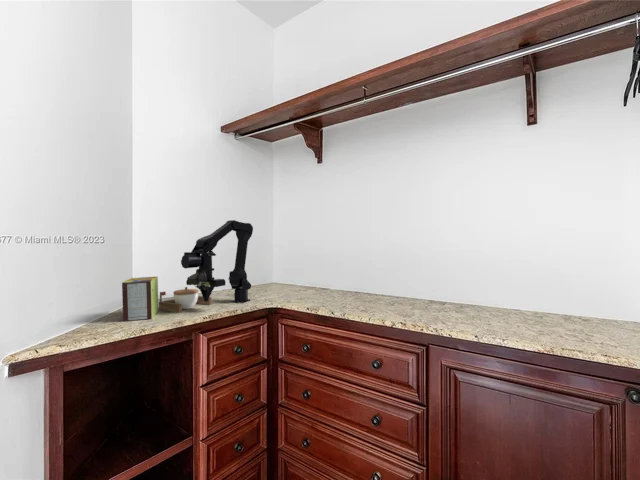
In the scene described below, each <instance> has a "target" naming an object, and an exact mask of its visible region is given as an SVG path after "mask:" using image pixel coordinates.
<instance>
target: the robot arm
mask: <svg viewBox="0 0 640 480" xmlns="http://www.w3.org/2000/svg"><path fill="white" fill-rule="evenodd" d="M232 231H233V232H235V237H236V238H237V246H236V254H235V262H234V268H233V270H232V271H231V270H230V271H229V275H228V279H227V280H229V281H228V283H229V284H230V287H231V289H232V290H234V300H231V301H232V302H233V303H247V302H249V301H251V299H250V298H249V293H248V292H249V290H251V289H252V288H251V287H252V284H251V283H250V281H249V280H248V274H247V271H246V270H245V269H246V262H247V261H246V260H247V253H248V252H247V251H248V246H249V245H248V244H249V243H248V242H249V240H250V239H251V238H252V235H253V232H254V226H253V225H252V223H250V222H241V221H238V220H235V219H232V220H227V221H226V222H225V223H224V224H223V225H221V226H219V227H218V228H216V230H215V231H213V232H212V233H210V234H208V235H205V236H203V237H200V238H198V239H197V240H196V241H195V245H194V247H193V248H192V250H191V251H186V252H183V256H182V257H181V260H180V265H181V267H182V268H183V269H192V268H195V269H196V270H195V273H194V274H191V275H190V276H188V277H187V278H186V286H194V287H195V288H196V289H198V290H199V291H200V293H201V296H203V298H204V301H208V299H209V297H211V295H212V292H213V291H214V289H215V288H219V287H224V286H226V280H225V279H224V278H215V277H214V276H213V271H215V268H213V257H215V256H217V254H216V253H215V252H214V251H213V250H214V249H215V248H216V247H217V245H218V243H219V241H220V240H222V239H223V238H225V236H227V235H228V234H230V233H231V232H232Z"/></svg>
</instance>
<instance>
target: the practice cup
mask: <svg viewBox="0 0 640 480" xmlns="http://www.w3.org/2000/svg"><path fill="white" fill-rule="evenodd" d="M166 295H167V293H166V291H159V301H158V311H163V312H164V311H165V312H173V313H179V314H180V313H182V312H183V311H182V310H183V309H182V304H177V303H175V301H174V298H173V299H167V300H164V301H163V299H162V298H163V296H166ZM195 305H207V306H211V305H212V297H211V296H210V297H209V299H208V301H204V298H203V296H202V295H201V296H200V295H198V300H197V302H196V304H195Z"/></svg>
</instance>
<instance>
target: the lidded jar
mask: <svg viewBox="0 0 640 480" xmlns="http://www.w3.org/2000/svg"><path fill="white" fill-rule="evenodd" d="M198 296H199V289H198V288H188V286H185V287H184V289H183V288H182V289H178V290H173V299H174V301H175V303H177V304H182V310H183V309H184V310H185V309H191V308H192V309H193V308H194V307H195V305H197V304H196V302H197V300H198Z"/></svg>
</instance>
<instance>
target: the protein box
mask: <svg viewBox="0 0 640 480" xmlns="http://www.w3.org/2000/svg"><path fill="white" fill-rule="evenodd" d="M158 279H159V278H158V276H147V277H146V276H143V277H142V276H141V277H131V278H128V279H126V280H124V281H122V282H121V288H122V290H121V291H122V294H121V295H122V299H121V300H122V321H123V322H134V321H135V322H136V321H145V320H147V321H148V320H153V318H154V317H155V316H156V314H158V312H159V281H158Z"/></svg>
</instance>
